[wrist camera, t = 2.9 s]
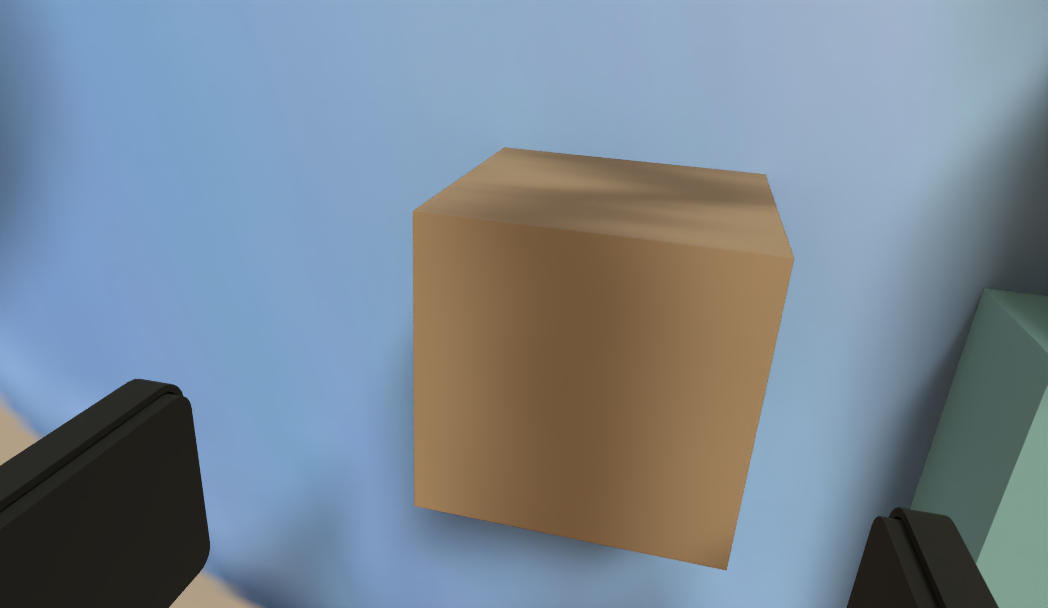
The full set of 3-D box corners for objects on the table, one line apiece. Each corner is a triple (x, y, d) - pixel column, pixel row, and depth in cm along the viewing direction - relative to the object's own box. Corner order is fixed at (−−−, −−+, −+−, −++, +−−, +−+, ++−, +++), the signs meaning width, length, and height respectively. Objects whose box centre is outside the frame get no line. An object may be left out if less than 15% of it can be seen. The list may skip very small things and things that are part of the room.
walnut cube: (765, 173, 16) (793, 258, 11) (721, 405, 18) (726, 570, 13) (505, 146, 17) (413, 211, 12) (495, 367, 20) (414, 506, 14)
